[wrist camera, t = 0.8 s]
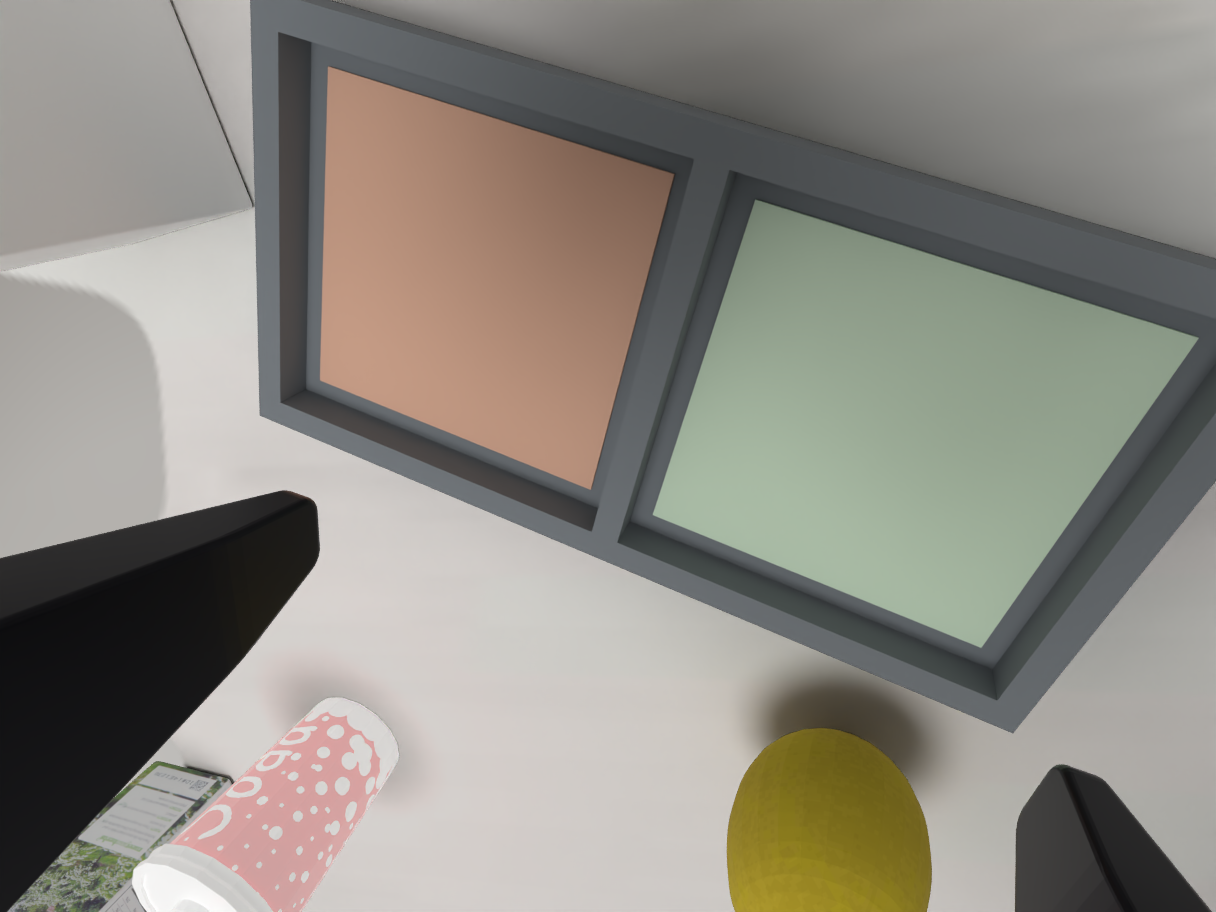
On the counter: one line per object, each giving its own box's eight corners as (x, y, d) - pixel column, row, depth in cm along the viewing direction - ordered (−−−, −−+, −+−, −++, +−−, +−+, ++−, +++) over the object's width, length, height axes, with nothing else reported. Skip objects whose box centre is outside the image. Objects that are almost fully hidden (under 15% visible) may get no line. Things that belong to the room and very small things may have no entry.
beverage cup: (394, 693, 31) (90, 1060, 20) (428, 795, 34) (177, 1175, 22) (284, 675, 34) (-49, 994, 22) (323, 772, 36) (44, 1106, 24)
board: (1297, 283, 15) (1352, 310, 13) (1002, 676, 21) (1013, 733, 19) (311, -6, 19) (250, -15, 17) (306, 391, 25) (259, 415, 24)
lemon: (965, 746, 23) (994, 1026, 16) (853, 824, 26) (837, 1087, 19) (816, 645, 23) (781, 878, 16) (721, 734, 26) (659, 961, 19)
